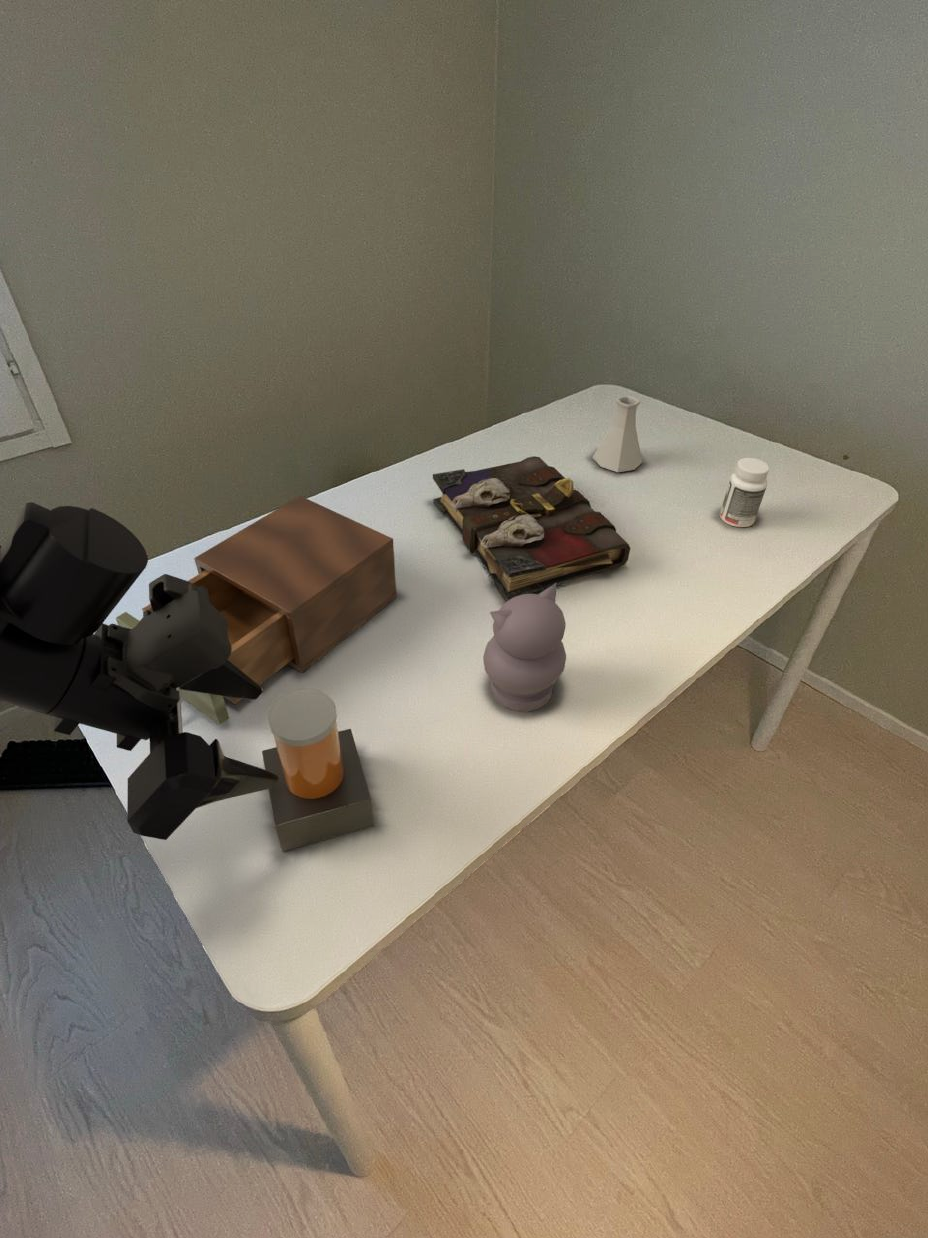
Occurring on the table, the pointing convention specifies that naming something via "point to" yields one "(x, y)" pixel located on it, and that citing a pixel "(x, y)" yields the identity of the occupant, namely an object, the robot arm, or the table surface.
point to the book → (529, 525)
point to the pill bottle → (745, 492)
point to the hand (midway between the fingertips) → (267, 735)
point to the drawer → (238, 639)
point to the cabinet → (309, 573)
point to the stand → (320, 802)
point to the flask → (621, 439)
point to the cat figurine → (526, 650)
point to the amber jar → (307, 742)
